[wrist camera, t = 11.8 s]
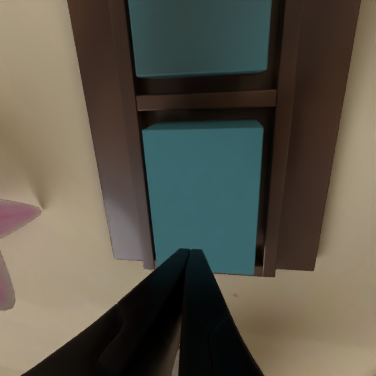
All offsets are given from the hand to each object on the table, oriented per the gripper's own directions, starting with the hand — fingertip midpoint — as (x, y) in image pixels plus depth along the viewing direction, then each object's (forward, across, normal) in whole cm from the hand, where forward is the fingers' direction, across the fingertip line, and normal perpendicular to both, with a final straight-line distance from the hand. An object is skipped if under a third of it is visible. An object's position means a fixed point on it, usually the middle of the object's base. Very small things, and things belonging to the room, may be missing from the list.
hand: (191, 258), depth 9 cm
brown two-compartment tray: (+8, 0, -5) cm, 9 cm away
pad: (+7, 0, 0) cm, 7 cm away
